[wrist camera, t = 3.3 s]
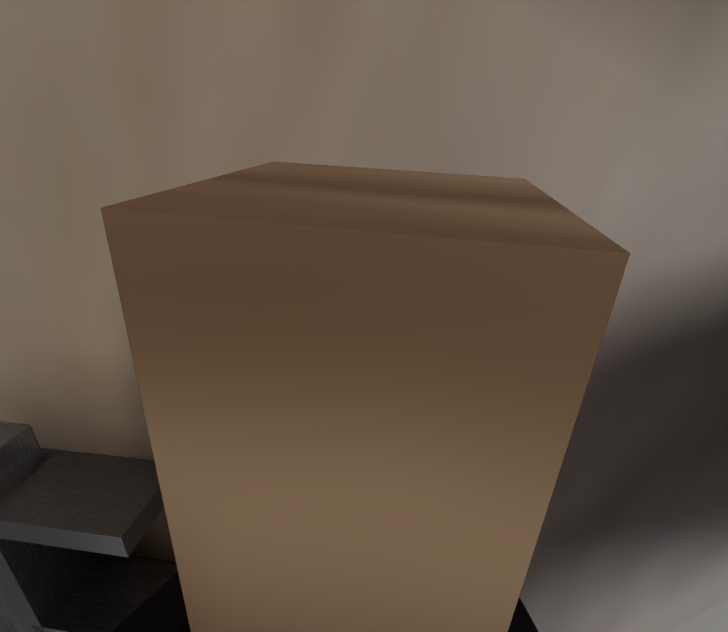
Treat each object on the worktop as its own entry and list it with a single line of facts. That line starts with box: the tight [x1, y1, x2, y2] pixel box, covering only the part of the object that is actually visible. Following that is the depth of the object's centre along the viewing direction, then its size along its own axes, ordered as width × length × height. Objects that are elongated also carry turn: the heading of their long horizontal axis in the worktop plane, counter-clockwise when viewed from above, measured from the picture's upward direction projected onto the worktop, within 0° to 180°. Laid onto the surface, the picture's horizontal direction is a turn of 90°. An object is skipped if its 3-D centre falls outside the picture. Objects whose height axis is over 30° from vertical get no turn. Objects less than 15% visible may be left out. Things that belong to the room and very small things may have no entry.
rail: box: [101, 162, 630, 632], centre depth 8 cm, size 14×4×4 cm, turn 177°
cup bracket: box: [0, 422, 178, 632], centre depth 16 cm, size 8×10×8 cm
